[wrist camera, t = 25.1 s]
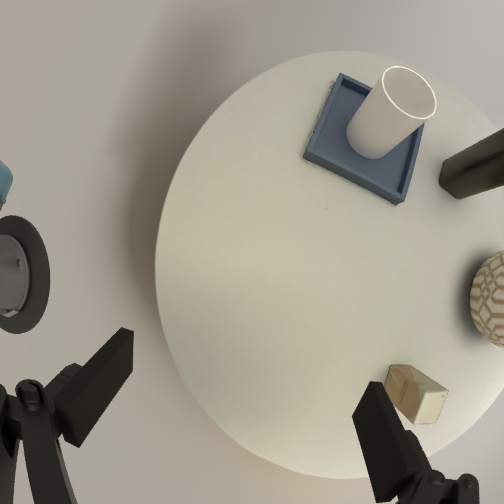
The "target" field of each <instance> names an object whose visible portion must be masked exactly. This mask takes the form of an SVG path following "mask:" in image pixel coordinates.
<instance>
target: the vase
mask: <svg viewBox="0 0 504 504" xmlns="http://www.w3.org/2000/svg"><path fill="white" fill-rule="evenodd" d="M470 310H471V315H472V319H473V321H474V324H475V326H476V327H477V329H478V331H479V332H480V333H481V334H482V336H483V337H484V338H485V339H487V340H488V341H489V342H491V343H493V344H495V345H497V346H500V347H504V250H502V251H499V252H497V253H496V254H494V255H492V256H491V257H490V258H489V259H487V260H486V261H485V262H484V263H483V265H482V266H481V267H480V269H479V270H478V272H477V274H476V276H475V278H474V281H473V284H472V287H471V293H470Z"/></svg>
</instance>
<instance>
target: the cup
mask: <svg viewBox="0 0 504 504" xmlns="http://www.w3.org/2000/svg"><path fill="white" fill-rule="evenodd" d="M435 110H436V98H435V95H434V93H433V91H432V89H431V87H430V86H429V84H428V83H427V82H426V81H425V80H424V79H423V78H422V77H421V76H420V75H419V74H417V73H416V72H414V71H412V70H410V69H408V68H405V67H401V66H393V67H390V68H388V69H387V70H386V71H385V72H384V73H383V74H382V76H381V77H380V78H379V80H378V81H377V83H376V84H375V86H374V87H373V89H372V90H371V91H370V93H369V94H368V96H367V97H366V99H365V100H364V102H363V103H362V104H361V106H360V107H359V109H358V110H357V112H356V113H355V115H354V116H353V117H352V119H351V120H350V122H349V123H348V125H347V129H346V136H347V140H348V142H349V144H350V146H351V147H352V148H353V149H354V150H355V151H356V152H357V153H358V154H359V155H361V156H363V157H365V158H369V159H378V158H381V157H383V156H384V155H385V154H387V153H388V152H389V151H390V150H391V149H393V148H394V147H395V146H396V145H398V144H399V143H400V142H401V141H402V140H404V139H405V138H406V137H407V136H408V135H410V134H411V133H412V132H413V131H415V130H416V129H417V128H418V127H419V126H421V125H422V124H423V123H424V122H425V121H427V120H428V119H429V118H430V117H431V116H432V115H433V114H434V112H435Z"/></svg>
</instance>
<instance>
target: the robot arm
mask: <svg viewBox="0 0 504 504" xmlns="http://www.w3.org/2000/svg"><path fill="white" fill-rule="evenodd" d="M12 180H13V176H12V173H11V171H10V169H9V168H8V167H7V166H6V165H5V164H4V163H2V162H1V161H0V210H1V208H2V206H3V203H4V204H5V202H6V196H7V194H8V192H9V189H10V187H11V185H12ZM31 288H32V268H31V263H30V259H29V255H28V253H27V250H26V248H25V247H24V245H23V244H22V242H21V241H20V240H19V239H17V238H16V237H14V236H11V235H0V314H1V315H3V316H6V317H11V316H13V315H15V314H17V313H19V312H20V311H21V310H22V309H23V308H24V307H25V306H26V304H27V302H28V299H29V297H30V293H31ZM133 339H134V331H131V330H128V329H125V328H122V327H121V328H120V329H119V330H118V331H117V332H116V333H115V334H114V335H113V336H112V337H111V338H110V339H109V340H108V341H107V342H106V343H105V344H104V345H103V346H102V347H101V348H100V349H99V350H98V351H97V352H96V353H95V354H94V355H93V357H92V358H91V359H90V360H89V361H88V362H87V363H86V364H85V365H84V366H83V367H82V366H80V365H78V364H76V363H73V364H71V365H69V366H66V367H65V368H64V369H63V370H62V371H61V372H60V374H58V375H57V376H56V377H55V379H53V380H52V381H51V382H50V383H49V384H48V385H47V386H46V387H45V388H43V385H42V384H40V383H39V382H38V381H35V380H30V379H27V380H23V381H21V382H19V383H18V384H17V385H16V388H15V391H16V395H17V397H15V396H12V395H9V394H7V392H6V389H5V387H4V386H2V385H1V384H0V504H13V495H14V482H15V471H16V463H17V455H18V449H19V442H20V440H23V447H24V454H25V461H26V467H27V472H28V477H29V482H30V486H31V491H32V496H33V499H34V504H77V501H76V498H75V495H74V492H73V489H72V487H71V483H70V480H69V477H68V473H67V470H66V467H65V463H64V460H63V455H62V451H61V447H60V443H59V440H58V438H59V437H60V435H61V434H63V437H64V440H65V441H66V442H68V443H70V444H72V445H74V446H76V447H78V448H79V447H80V446H81V444H82V443H83V442H84V440H85V438H86V437H87V436H88V434H89V433H90V431H91V430H92V428H93V427H94V425H95V424H96V422H97V421H98V419H99V418H100V417H101V415H102V414H103V412H104V411H105V409H106V407H108V405H109V404H110V402H111V401H112V399H113V398H114V397H115V395H116V394H117V392H118V391H119V389H120V388H121V387H122V385H123V384H124V382H125V381H126V380H127V378H128V377H129V375H130V374H131V373H132V371H133ZM352 418H353V422H354V425H355V428H356V432H357V435H358V439H359V442H360V445H361V449H362V452H363V456H364V459H365V463H366V467H367V470H368V474H369V478H370V481H371V485H372V488H373V492H374V496H375V500H376V503H383V502H390V501H391V500H392V499H393V498H394V497H395V496H396V495H397V497H398V501H397V502H396V503H395V504H479V483H478V480H477V479H476V477H474V476H473V475H471V474H463V475H461V476H460V477H459V479H457V480H452V479H445V476H444V475H443V474H442V473H441V472H439V471H437V470H432V468H431V466H430V464H429V462H428V459H427V457H426V455H425V453H424V451H422V447H421V445H420V443H419V441H418V439H417V437H416V436H415V434H414V433H413V432H412V431H411V430H405V429H404V427H403V425H402V423H401V421H400V419H399V417H398V415H397V412H396V410H395V408H394V406H393V404H392V402H391V400H390V398H389V396H388V394H387V392H386V390H385V388H384V386H383V384H382V382H373V381H370V382H369V384H368V386H367V388H366V390H365V392H364V394H363V396H362V398H361V400H360V402H359V404H358V406H357V408H356V409H355V411H354V413H353V415H352Z"/></svg>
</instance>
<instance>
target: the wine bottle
mask: <svg viewBox="0 0 504 504" xmlns="http://www.w3.org/2000/svg"><path fill="white" fill-rule="evenodd" d="M440 184H441V186H442V187H443V188H445V189H446V190H447V191H448V192H450V193H451V194H452V195H454V196H455V197H456V198H458V199H462V198H465V197H469V196H472V195H475V194H478V193H481V192H484V191H488V190H491V189H494V188H497V187H500V186H503V185H504V128H503V129H501V130H500V131H498V132H496V133H494V134H492V135H490V136H489V137H487V138H485V139H483V140H481V141H479V142H478V143H476V144H474V145H472V146H470V147H468V148H466V149H465V150H463V151H461V152H459V153H457V154H455V155H454V156H452V157H450V158H448V159H446V160H445V162H444V165H443V169H442V172H441V176H440Z"/></svg>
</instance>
